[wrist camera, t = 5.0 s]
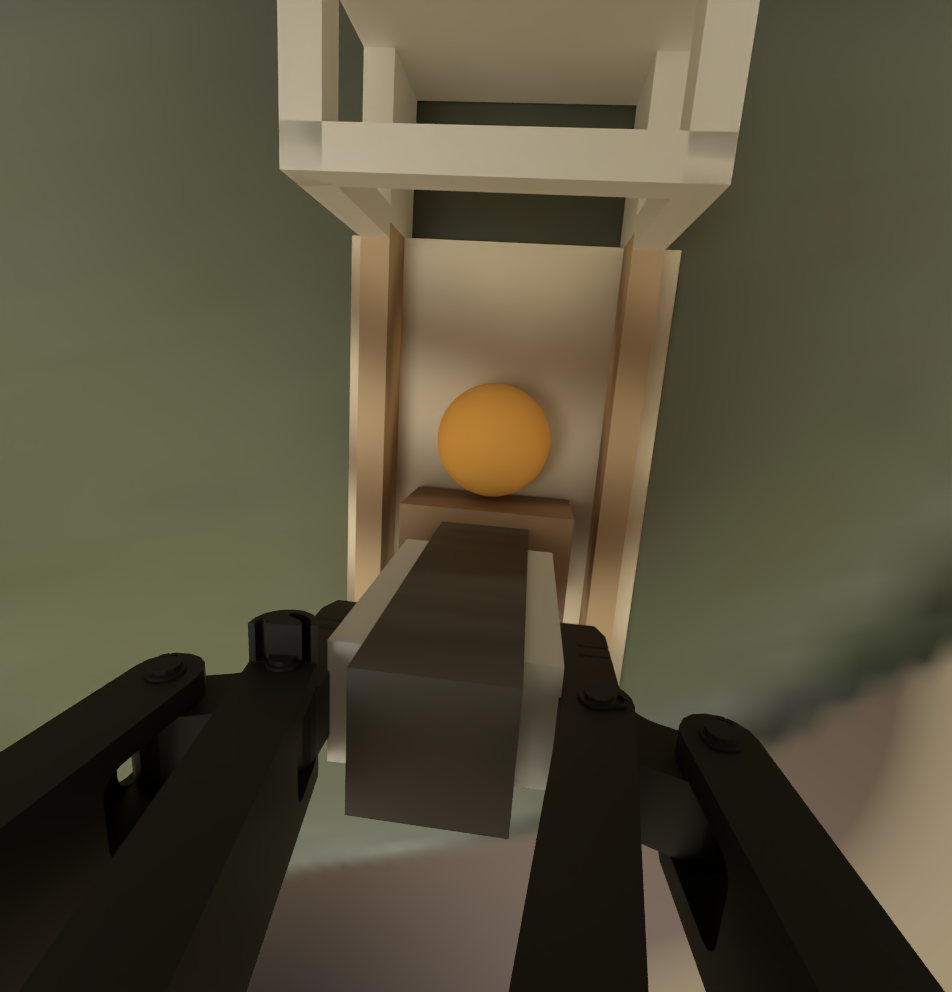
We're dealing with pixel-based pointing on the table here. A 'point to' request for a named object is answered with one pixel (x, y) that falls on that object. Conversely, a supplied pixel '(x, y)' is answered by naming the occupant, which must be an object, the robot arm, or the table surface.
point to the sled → (450, 664)
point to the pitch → (524, 365)
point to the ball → (494, 439)
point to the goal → (517, 79)
